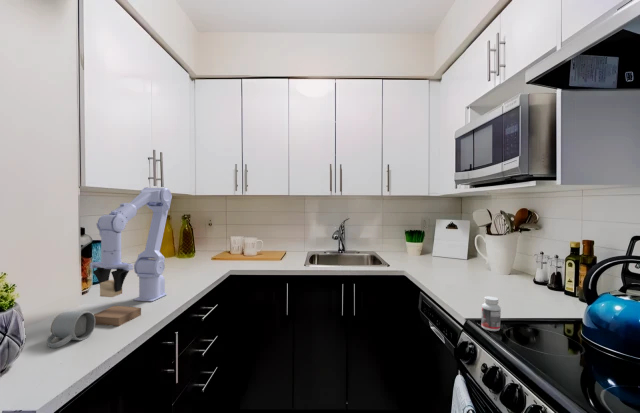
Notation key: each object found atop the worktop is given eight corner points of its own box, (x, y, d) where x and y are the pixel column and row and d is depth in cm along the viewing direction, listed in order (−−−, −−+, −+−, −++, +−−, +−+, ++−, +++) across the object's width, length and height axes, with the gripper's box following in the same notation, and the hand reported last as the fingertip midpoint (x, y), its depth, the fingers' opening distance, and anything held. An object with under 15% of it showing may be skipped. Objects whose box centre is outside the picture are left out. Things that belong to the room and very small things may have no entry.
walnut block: (114, 314, 116) (114, 305, 116) (141, 316, 114) (140, 307, 114) (90, 325, 106) (90, 315, 106) (118, 327, 104) (118, 318, 104)
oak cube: (110, 292, 115) (110, 279, 115) (122, 293, 115) (122, 280, 115) (100, 296, 111) (99, 282, 111) (112, 297, 110) (112, 283, 110)
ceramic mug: (71, 331, 99) (70, 306, 99) (96, 333, 99) (95, 307, 98) (37, 348, 89) (36, 320, 89) (65, 350, 88) (64, 321, 88)
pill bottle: (477, 325, 110) (478, 295, 110) (493, 324, 110) (494, 295, 110) (487, 331, 104) (488, 300, 104) (503, 331, 105) (504, 300, 105)
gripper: (82, 251, 110) (82, 292, 110) (121, 253, 107) (121, 295, 108) (99, 248, 117) (99, 286, 117) (137, 249, 114) (137, 289, 115)
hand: (111, 290), depth 113 cm, fingers closed on oak cube, 4 cm apart
